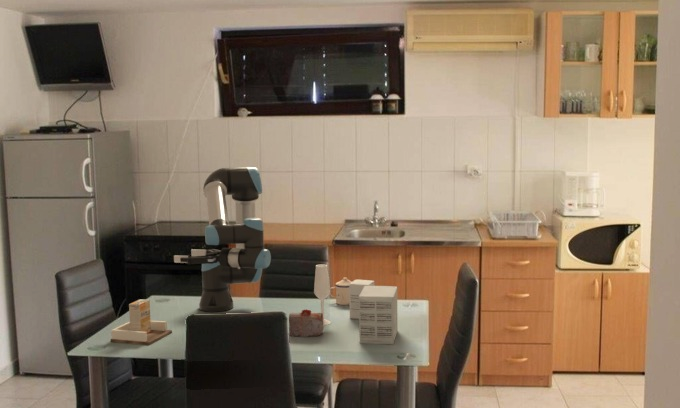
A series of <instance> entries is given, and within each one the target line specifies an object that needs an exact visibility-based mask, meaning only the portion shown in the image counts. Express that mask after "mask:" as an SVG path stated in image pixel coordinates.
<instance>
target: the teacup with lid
mask: <svg viewBox="0 0 680 408" xmlns="http://www.w3.org/2000/svg"><path fill="white" fill-rule="evenodd" d="M351 282H353V281H351V280H350V279H348V277H342V279H341V280H339V281H337V282H336V283H335V285H334V286H332V287H331V286H330V294H329V296H330V297H331V298H334V299H335V302H336V305H341V306H349V284H350V283H351ZM334 289H335V295H333V294H332V290H334Z"/></svg>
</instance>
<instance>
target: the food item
mask: <svg viewBox="0 0 680 408" xmlns="http://www.w3.org/2000/svg"><path fill="white" fill-rule="evenodd" d="M324 318H325V317H324ZM324 318H323V314H322V313H321V312H312V311H311V309H310V310H309V309H302V310H301V312H291V313H290V314H289V315H288V335H289V337H303V338H306V337H307V338H308V337H318V336H319V337H320V335H322V334H323V333H324V328H325V327H324V325H323V324H324V322H323V320H324Z"/></svg>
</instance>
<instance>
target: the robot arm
mask: <svg viewBox="0 0 680 408" xmlns="http://www.w3.org/2000/svg"><path fill="white" fill-rule="evenodd" d="M202 191H203V195H204V197H205V198H206V205H207V215H208V224H209V225H206V226H205V227H204V237H205V238H204V239H205V241H204V242H205V244H206V245H208V246H221V245H223V246H225V245H235V247H222V248H221V250H220V249H215V248H210V249H195V248H194V249H193V248H191V250H190V252H191V253H190V254H188V255H178V254H177V255H176V254H175V255H173V262H174V263H176V264H177V263H178V264H179V263H180V264H184V263H185V264H187V265H189V266H190V265H201V270H200V271H201V278H202V279H201V283H202V287H201V288H202V293H201V297H200V300H199V303H198V306H199V310H200V311H203V312H208V313H215V312H216V313H217V312H218V311H219V312H225V310H226V311H229V310H231V309H233V308H234V301H233V298H232V295H231V292H230V285H234V284H235V285H236V284H237V285H238V284H251V283H252V284H253V283H258V282H259V281H260V280H261V277H262V274H263V269H267V268H268V267H270V264H271V262H272V261H271V260H272V255H271V252H270V250H269V249H266V248H265V244H264V243H265V241H264V223H263V220H262V218H259V217H256V202H257V200H259V198H260V196H259V195H262V194H263V184H262V179H261V175H260V171H259V168H257V167H253V166H252V167H251V166H245V167H244V166H241V167H238V166H237V167H222V168H218V169H216V170H214V171H212V173H211V174H209V175H208V177H206V179H205V181H204V183H203V190H202ZM226 196H231V199H232V201H234V202H235V205H234V207H235V223H234V224H230V223H229V215H228V207H227V200H226ZM190 255H191V256H190ZM219 312H218V313H219Z"/></svg>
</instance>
